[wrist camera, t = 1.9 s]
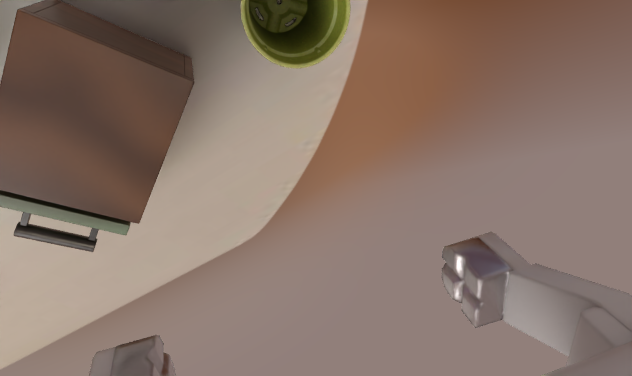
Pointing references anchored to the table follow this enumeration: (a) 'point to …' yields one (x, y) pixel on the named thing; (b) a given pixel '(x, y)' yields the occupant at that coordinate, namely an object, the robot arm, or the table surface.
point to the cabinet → (87, 110)
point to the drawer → (63, 214)
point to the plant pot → (295, 29)
